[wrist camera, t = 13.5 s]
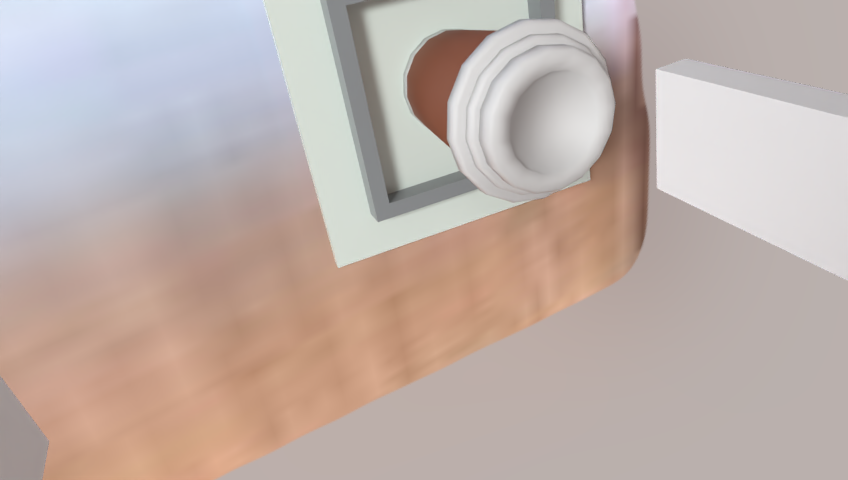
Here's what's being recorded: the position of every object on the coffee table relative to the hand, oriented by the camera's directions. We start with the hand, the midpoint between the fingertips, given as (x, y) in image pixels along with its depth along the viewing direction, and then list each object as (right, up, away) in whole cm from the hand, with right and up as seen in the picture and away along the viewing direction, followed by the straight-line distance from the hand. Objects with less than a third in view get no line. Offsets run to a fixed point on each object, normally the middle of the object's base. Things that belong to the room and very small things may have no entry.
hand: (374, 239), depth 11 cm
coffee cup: (+2, +10, +28) cm, 30 cm away
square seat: (+2, +10, +28) cm, 30 cm away
